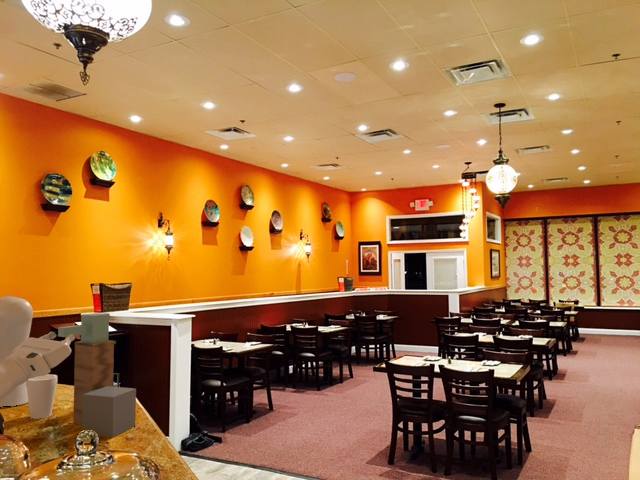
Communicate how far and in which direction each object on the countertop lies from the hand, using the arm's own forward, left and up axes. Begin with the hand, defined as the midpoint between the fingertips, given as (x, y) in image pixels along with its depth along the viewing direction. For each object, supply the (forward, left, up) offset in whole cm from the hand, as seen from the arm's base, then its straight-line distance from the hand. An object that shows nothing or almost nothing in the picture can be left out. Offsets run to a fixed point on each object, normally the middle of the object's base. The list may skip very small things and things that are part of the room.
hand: (63, 334), depth 164 cm
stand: (+3, +11, -30) cm, 32 cm away
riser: (+14, +5, -30) cm, 33 cm away
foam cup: (-18, +11, -30) cm, 37 cm away
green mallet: (+2, +7, -4) cm, 9 cm away
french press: (-5, +25, -30) cm, 39 cm away
